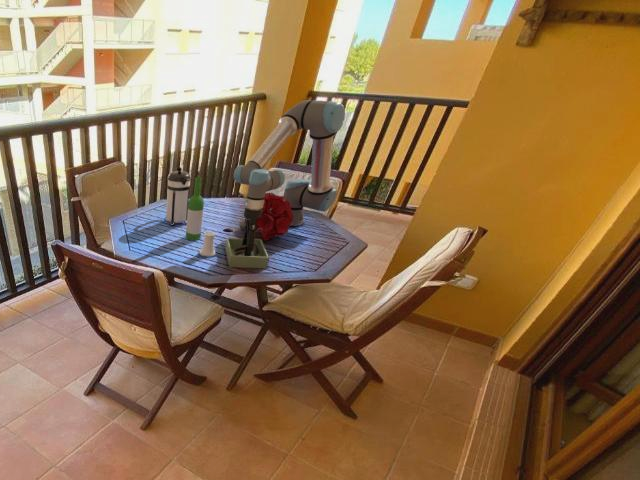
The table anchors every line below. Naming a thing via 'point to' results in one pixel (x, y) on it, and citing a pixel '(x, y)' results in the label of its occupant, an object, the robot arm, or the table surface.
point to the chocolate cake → (241, 250)
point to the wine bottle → (195, 213)
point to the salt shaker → (208, 245)
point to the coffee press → (177, 196)
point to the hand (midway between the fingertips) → (245, 255)
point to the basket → (245, 261)
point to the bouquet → (273, 217)
